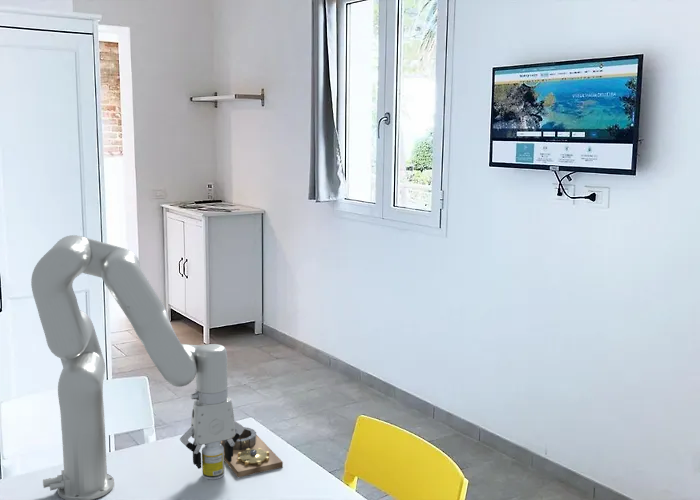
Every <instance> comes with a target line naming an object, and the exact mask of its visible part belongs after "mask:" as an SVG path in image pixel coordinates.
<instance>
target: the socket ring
mask: <svg viewBox="0 0 700 500" xmlns="http://www.w3.org/2000/svg"><path fill="white" fill-rule="evenodd" d="M243 427H244V428H245V429H244V431H243V432H242V434H241V435H240V438H244V439H238V440H237V441H236V442H235V445H234V446H233V450H244V449H248V448H251V447H253V446H254V445H255V444H256V435H257V432H256V430H255V429H253V428H251V427H246V426H243ZM236 429H237V428H235V431H236ZM225 442H226V440H224V441H222V445H223V446H224V447H225Z"/></svg>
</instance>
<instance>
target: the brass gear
mask: <svg viewBox="0 0 700 500" xmlns="http://www.w3.org/2000/svg"><path fill="white" fill-rule="evenodd" d="M265 461H266V462H268V461H269V452H268V451H266V452H265V451H263V450H262V448H258V449H250V448H248V449H246V450H245V451H243V452H239V453H238V458H237V462H238V463H240V462H242V463H244V464H245V466H249V465H258V466H259V465H261V463H263V462H265Z"/></svg>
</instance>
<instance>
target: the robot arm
mask: <svg viewBox="0 0 700 500" xmlns="http://www.w3.org/2000/svg"><path fill="white" fill-rule="evenodd" d="M34 266H35V267H34V269H33V271H32V274H31V279H30V281H31V284H30V285H31V292H32V296H33V299H34V301H35V305H36V309H37V314H38V316H39V319H40V320H39V321H40V324H41V327H42V330H43V332H44V333H43V334H44V336H45V339H46V343H47V344H46V345H47V347H48V349H49V350H50V352H51V353H52V354H53V355H54V356H55V357H57V358H58V359H60V362H61V365H62V370H61V372H60V375H59V378H58V381H57V382H58V383H57V396H58V397H57V398H58V404H59V412H60V414H59V415H60V426H61V437H62V438H61V439H62V440H61V441H62V443H61V444H62V459H63V470H61V474H57V476H55V477H49V478H44V479H42V486H43V489H46V488H49V490H50V491H54V490H57V494H58V496H59V498H61V499H63V500H95V499H99V498H101V497H103V496H105V495H107V494H108V493H110V492H111V491H112V490H113V488H114V486H115V479H114V476H112V475H111V474H109V473H108V469H107V467H108V466H107V445H106V444H107V443H106V441H107V440H106V425H105V424H106V423H105V422H106V421H105V406H104V380H105V379H104V378H105V373H106V364H105V363H106V362H105V359H104V355H103V351H102V350H101V346H100V342H99V338H98V337H97V333H96V330H95V326H94V323H93V321H92V319H91V317H90V316H89V315H88V314H87V313H86V312H84V311H83V310H81V309H80V307H79V303H78V299H77V295H76V293H75V291H74V289H73V283H74V280H75V279H76V278H78V277H79V276H80V275H82V274H85V275H88V276H89V275H90V276H94V277H97V278H101V279H102V281H103V283H104V284H105V287H107V290H109V293H110V294H111V295H112V297H113V298H114V299H115V302H116V303H117V304H118V307H120V309H121V310H122V312H123V314H125V317H126V318H127V319H128V321H129V323H130V324H131V326H132V328H133V330H134V332H135V333H136V335H137V337H138V339H139V340H140V342H141V344H142V345H143V347H144V349H145V351H146V353H147V354H148V356H149V358H150V359H151V361H152V363H153V365H154V366H155V367H156V368H157V371H158V372H159V373H160V375H161V376H162V378H163V379H164V381H166V382H167V383H168V384H169V385H171V386H173V387H176V388H177V387H178V388H181V387H185V386H187V385H189V384H191V383H192V382H193V381H194V379H195V383H196V384H195V385H196V386H195V391H194V392H193V393H191V394H190V399H191V400H194V401H193V405H192V411H191V420H190V421H191V423H190V428H188V429H187V431H185V432H184V433H183V435H182V436H181V437H179V441H180V442H181V443H182V444H183V445H184V446H185V447H186V448H187V449H188V450H189V451H191V452H192V461H193V462H192V463H193V465H194V466H196V467H197V469H198V470H200V469H201V468H202V452H201V451H200V450H201V449H202V447H203V445H205V444H209V443H214V442H219V441H224V440H226V442H225V458H226V459H227V461H228V462H231V461H232V457H233V446H234V445H235V442H236V441H237V440H238V438H239V437H240V435H241V434H242V432H243V431H244V429H245V428H244V427H245V426H244V425H243V424H240V423H239V422H237V421H236V420H235V414H234V407H233V401H232V398H231V397H229V396H228V394H229V393H228V390H229V389H228V387H229V386H228V384H229V383H228V351H227V348H226V347H225V346H224V345H222V344H217V343H208V344H203V345H199V344H198V345H195V344H188V343H187V344H186V343H185V344H184V343H181V341H180V339H179V338H178V336H177V334H176V332H175V329H174V327H173V326H172V323H171V320H170V317H169V313H168V311H167V309H166V307H165V305H164V303H163V301H162V300H161V298H160V296H159V295H158V294H157V292H156V290H155V289H154V287H153V285H152V284H151V283H150V281H149V280H148V277H147V276H146V275H145V273H144V271H143V270H142V268H141V264H140V260H139V257H138V256H137V255H136V254H135V253H134V252H133V251H131V250H129V249H127V248H124V247H120V246H117V245H113V244H109V243H106V242H102V241H99V240H97V239H92V238H89V237H85V236H82V235H75V234H73V235H66V236H64V237H62V238H61V239H58V241H57V242H56V243H55V244H54V245H53V246H52V247H51V248H50V249H49V250H48V251H47V252H46V253H44V255H42V257H41V258H40V259H39V260H38V261H37V263H36V265H34ZM235 428H237V429H236V431H235ZM190 438H192V439H194V440H193V442H191V441H189V439H190Z"/></svg>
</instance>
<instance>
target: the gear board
mask: <svg viewBox="0 0 700 500" xmlns="http://www.w3.org/2000/svg"><path fill="white" fill-rule="evenodd" d="M238 439H244V438H240V437H239V438H238ZM221 445H222V441H221ZM222 446H223V445H222ZM223 447H224V446H223ZM258 448H262V450H263V451H265V452H266V451H268V452H269V461H268V462H266V461H265V462H263V463H261V465H259V466H258V465H249V466H245V464H244V463H242V462H240V463H238V462H237V458H238V453H239V452H243V451H245V450H246V449H244V450H233V457H232V461H231V462H228V461H227V459H226V458H225V447H224V463H226V465H227V466H228V467H229V468H230V470H231V471H232V472H233V474H235V476H236V478H242V477H246V476H251V475H255V474H256V475H257V474H258V473H263V472H268V471H272V470H276V469H281V468H283V467H284V466H283V463H284V462H283V461H282V460H281V458H279V456H278V455H276V453H275V452H274V451H273V450H272V449H271V448H270V446H268V445H267V444H266V443H265V442H264V441H263V440H262V439H261V438H260V436H258V435H257V434H256V444H255V445H254V446H253V447H251V448H250V449H258Z"/></svg>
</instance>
